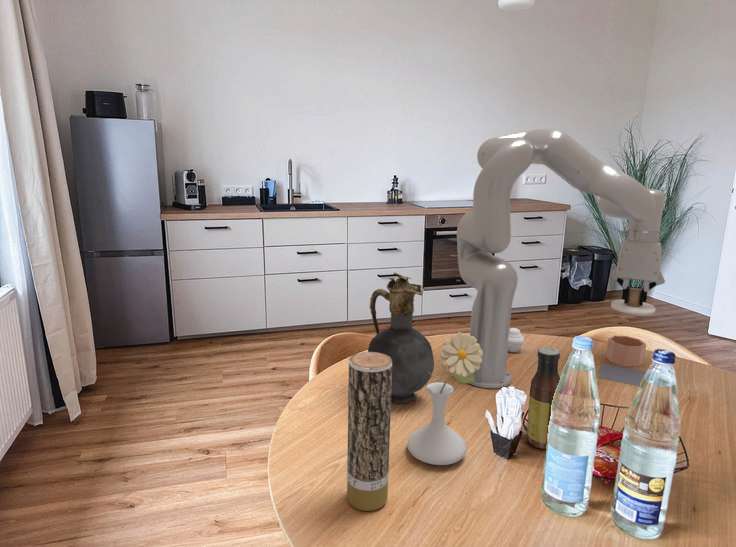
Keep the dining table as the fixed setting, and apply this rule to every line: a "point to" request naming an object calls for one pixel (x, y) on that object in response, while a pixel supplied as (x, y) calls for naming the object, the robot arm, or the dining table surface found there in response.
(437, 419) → the flower in vase
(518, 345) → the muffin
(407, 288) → the pitcher
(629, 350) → the bowl
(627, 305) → the lid
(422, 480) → the dining table surface
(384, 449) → the paper tube
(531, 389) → the sauce bottle
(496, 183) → the robot arm
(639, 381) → the mat
